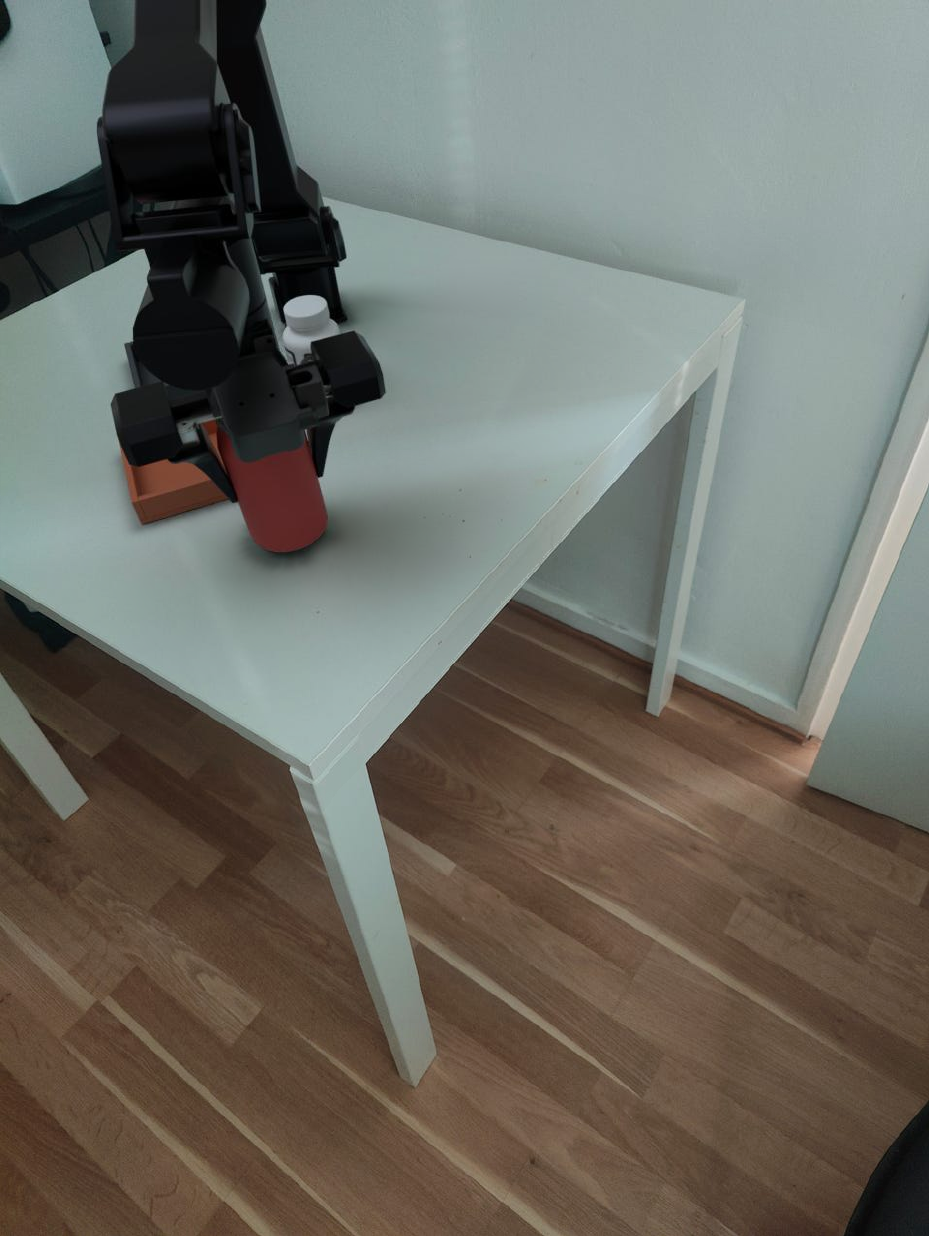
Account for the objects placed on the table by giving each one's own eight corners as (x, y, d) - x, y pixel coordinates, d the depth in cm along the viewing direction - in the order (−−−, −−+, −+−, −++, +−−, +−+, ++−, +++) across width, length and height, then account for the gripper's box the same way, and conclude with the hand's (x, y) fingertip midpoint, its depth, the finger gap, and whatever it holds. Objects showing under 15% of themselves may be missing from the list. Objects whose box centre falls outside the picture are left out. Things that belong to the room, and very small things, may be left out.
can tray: (244, 335, 94) (238, 314, 92) (265, 382, 88) (258, 360, 86) (132, 364, 92) (123, 343, 90) (145, 415, 85) (136, 393, 84)
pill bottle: (361, 385, 86) (344, 293, 79) (338, 416, 83) (319, 324, 76) (312, 378, 88) (291, 287, 80) (288, 409, 84) (264, 317, 77)
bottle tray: (244, 425, 83) (237, 403, 81) (268, 487, 77) (261, 464, 75) (127, 458, 81) (117, 436, 79) (141, 524, 74) (131, 502, 73)
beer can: (254, 505, 74) (212, 388, 65) (330, 497, 74) (299, 377, 65) (248, 561, 70) (202, 443, 61) (329, 551, 70) (295, 432, 61)
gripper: (89, 405, 50) (175, 591, 61) (395, 324, 53) (422, 514, 65) (73, 316, 57) (153, 498, 68) (345, 250, 60) (377, 433, 72)
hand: (277, 487), depth 68 cm, fingers closed on beer can, 6 cm apart
